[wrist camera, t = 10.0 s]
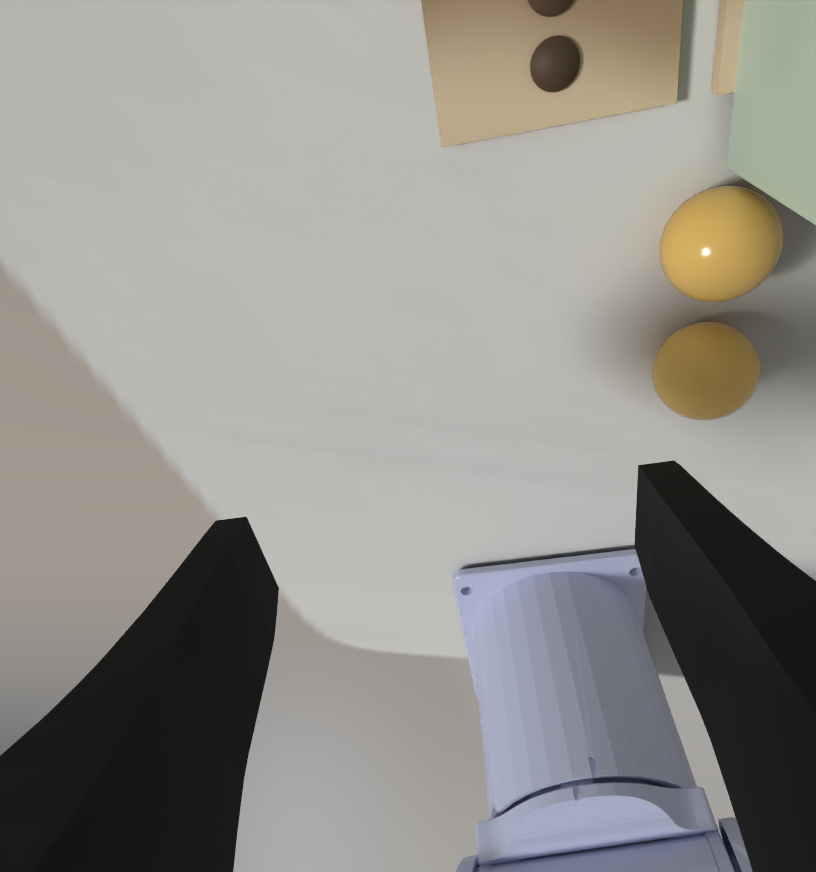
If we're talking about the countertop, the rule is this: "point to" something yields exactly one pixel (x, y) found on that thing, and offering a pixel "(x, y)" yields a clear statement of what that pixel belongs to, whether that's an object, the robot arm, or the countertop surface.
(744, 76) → the pale green block
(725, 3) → the pad two
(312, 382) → the countertop surface
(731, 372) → the marble
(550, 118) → the pad three
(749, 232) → the marble
